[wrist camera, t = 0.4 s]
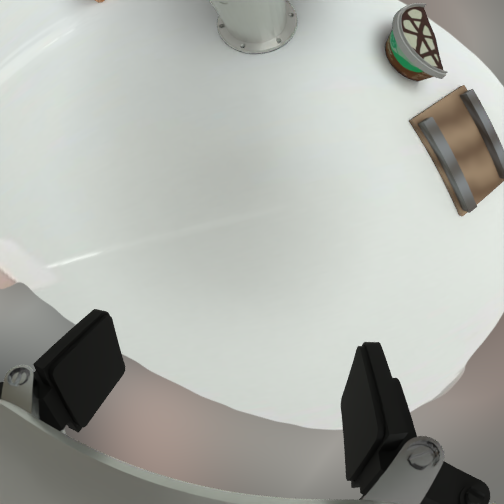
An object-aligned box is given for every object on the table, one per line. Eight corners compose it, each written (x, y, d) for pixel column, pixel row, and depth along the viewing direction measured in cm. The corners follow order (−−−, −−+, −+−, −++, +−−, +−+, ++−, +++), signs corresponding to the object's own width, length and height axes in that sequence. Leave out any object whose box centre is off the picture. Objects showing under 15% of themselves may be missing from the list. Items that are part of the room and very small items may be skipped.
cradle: (408, 120, 36) (417, 118, 32) (460, 86, 31) (471, 82, 28) (459, 214, 39) (469, 219, 35) (504, 175, 34) (516, 177, 31)
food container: (370, 22, 31) (385, -6, 22) (404, 25, 30) (424, 1, 20) (386, 87, 35) (409, 70, 25) (420, 89, 33) (448, 75, 24)
